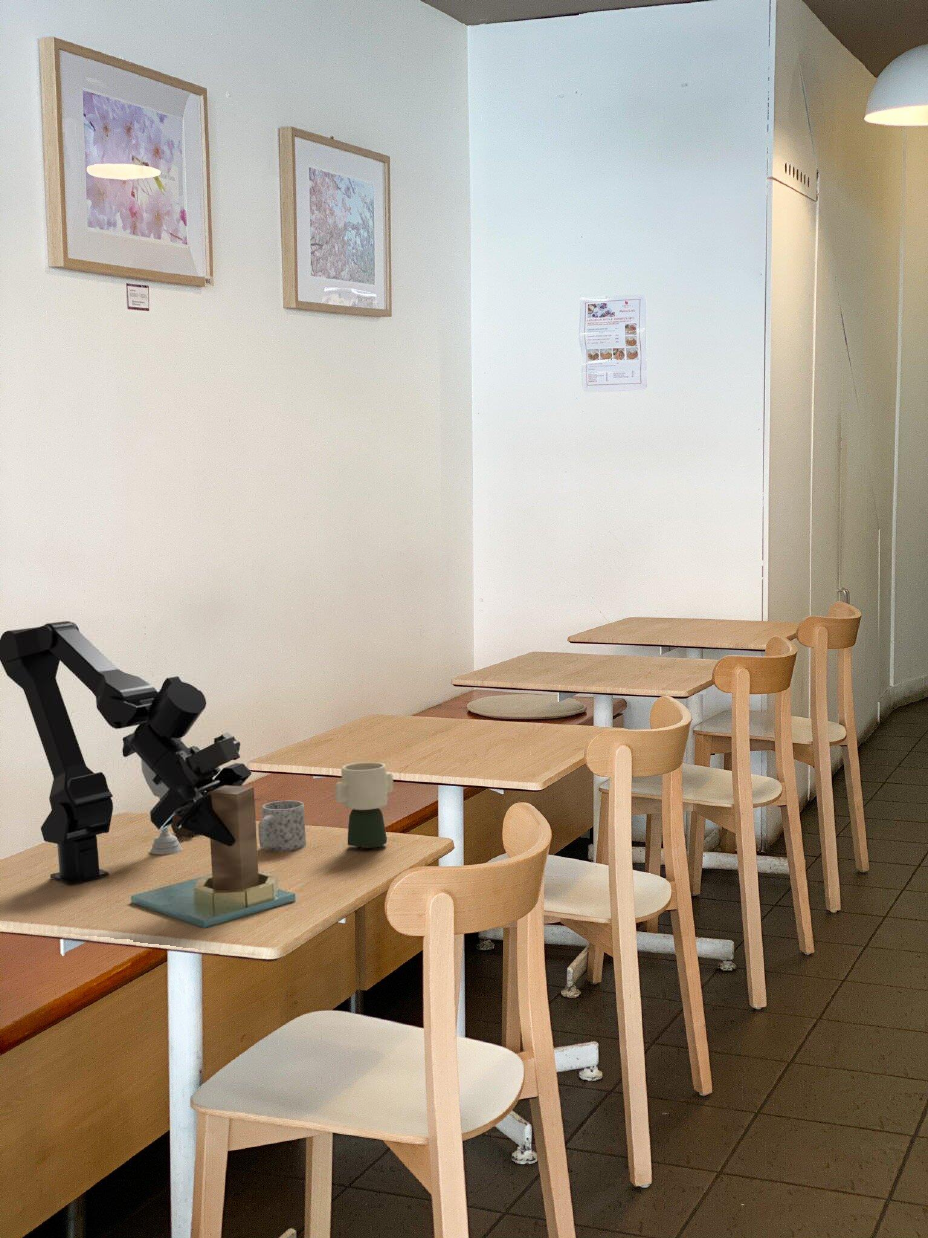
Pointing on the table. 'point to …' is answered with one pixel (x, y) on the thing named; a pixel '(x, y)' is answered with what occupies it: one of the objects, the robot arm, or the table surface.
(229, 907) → the socket plate
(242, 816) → the peg
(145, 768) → the chalice
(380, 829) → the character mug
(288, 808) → the mug
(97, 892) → the table surface
